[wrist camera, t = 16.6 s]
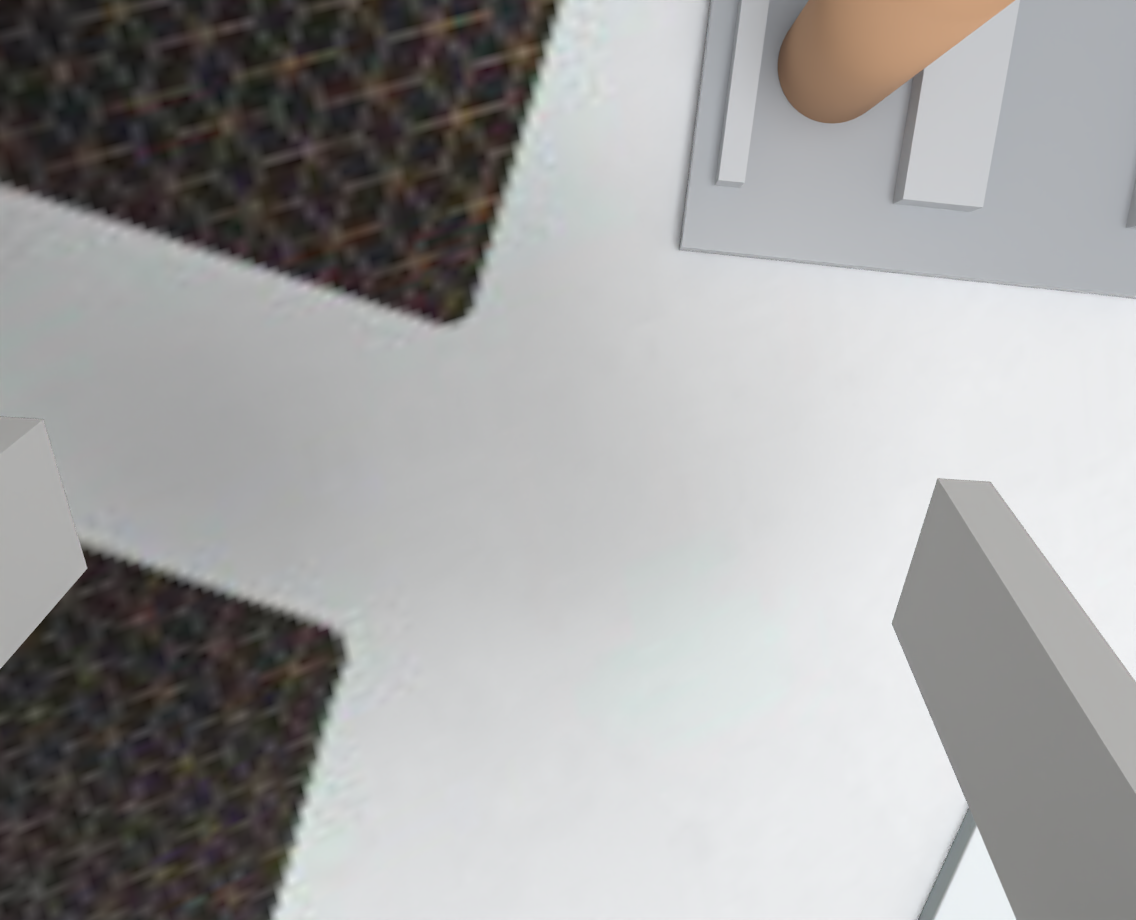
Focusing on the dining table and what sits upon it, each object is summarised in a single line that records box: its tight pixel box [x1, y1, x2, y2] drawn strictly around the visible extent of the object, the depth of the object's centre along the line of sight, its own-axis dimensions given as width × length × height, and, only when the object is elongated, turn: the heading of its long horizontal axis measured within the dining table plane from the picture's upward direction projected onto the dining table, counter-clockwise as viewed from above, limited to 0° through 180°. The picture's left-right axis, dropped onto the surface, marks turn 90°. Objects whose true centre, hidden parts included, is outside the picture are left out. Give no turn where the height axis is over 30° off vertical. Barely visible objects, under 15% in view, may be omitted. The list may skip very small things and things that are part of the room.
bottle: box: [778, 0, 1015, 123], centre depth 26 cm, size 4×4×13 cm
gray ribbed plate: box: [679, 0, 1136, 298], centre depth 31 cm, size 15×19×5 cm
